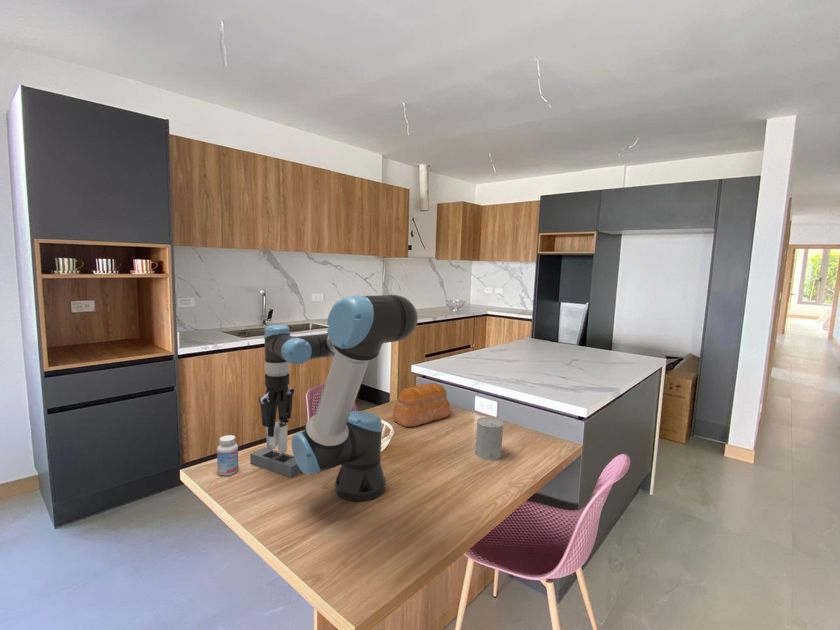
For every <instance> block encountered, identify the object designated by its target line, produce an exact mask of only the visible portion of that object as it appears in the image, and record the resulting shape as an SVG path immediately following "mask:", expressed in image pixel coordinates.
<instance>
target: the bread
mask: <svg viewBox="0 0 840 630" xmlns="http://www.w3.org/2000/svg"><path fill="white" fill-rule="evenodd" d="M447 397H448V393H447V390H446V389H445V387H444V386H442V385H440V384H438V383H435V382H430V383H425V384H424V383H423V384H418V385H413V386H411V387H405V388H403V389H402V390H401V391H400V392H399V393H398V396H397V398H396V399H397V402H396V403H395V405H394V407H393V410H392V411H393V412H392V418H393V421H394V422H395V423H396V422H397V423H396V424H399V425H401V426H403V427H407V428H411V427H412V428H413V427H417V426H420V425H424V424H429V423H430V422H433V421H438V420H442V419H444V418H445V419H446V418H448V417H449V416H450V414H451V408H450V407H451V406H450V402H449V400H448V399H447Z"/></svg>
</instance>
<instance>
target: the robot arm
mask: <svg viewBox="0 0 840 630" xmlns="http://www.w3.org/2000/svg"><path fill="white" fill-rule="evenodd" d="M418 321H419V320H418V312H417V309H416V307H415V306H414V304H413V303H412V301H410V300H409V299H408V298H407V297H404V296H402V295H397V294H387V295H386V294H385V295H384V294H383V295H363V294H362V295H361V294H355V295H351V296H345V297H341V298H339V300H337V301H336V302H334V304H333V306H331V309H330V311H329V314H328V317H327V326H328V328H327V332H326V333H319V334H310V335H307V334H306V335H298V336H297V335H295V336H293V335H291V331H290V330H291V329H290V327H289V326H288V325H284V324H273V325H272V324H271V325H268V326H266V327H265V328H264V337H263V339H264V373H265V374H264V386H265V388H266V390H265V393H264V396H262V397H259V398H258V402H259V404H260V413H261V426H263V427H264V428H266V427H268V436H269V445H272V446H276V447H278V444H277V426H275V422H279V423H283V424H286V425H287V423H289V421H290V420H289V419H291V418H292V410H293V409H292V408H293V396H294V394H295V393H294V392H295V389H294V388H291V387H289V385H290V374H289V373H290V363H291V364H293V365H303V364H305V363H306V362H308V361H310V360H315V359H321V358H330V357H333V358H332V361H331V364H330V368H329V370H328V374H327V377H326V379H325V380H326V381H325V383H324V387H323V389H322V393H321V397H320V400H319V402H318V404H317V408H316V412H315V414H314V415H312V416H310V418H309V419H308V420H307V421H306V425H305V427H304V430H303V431H298V432H295V433H294V434H293V436H292V438H291V449H292V454H293V456H294V458H295V461H296V463H297V465H298V467H299V469H300V470H301V471H302V473H303V474H305V475H308V476H312V475H315V474H320V473H322V472H326V471H327V470H331V469H333V468H336V467H338V466H340V467H339V470H338V474H337V476H336V479H335V481H334V482H335V483H334V484H335V485H334V486H335V487H334V491H335V493H336V494H337V496H339V497H341V498H342V499H345V500H347V501H353V502H364V501H365V502H366V501H370V500H374V499H376V498H378V497H380V496H381V495H383V494H384V492H385V491H386V485H387V484H386V482H387V481H386V480H387V479H386V477H385V474H384V470H383V467H382V464H381V463H382V462H381V455H382V451H381V450H382V433H383V428H382V419H381V417H380V416H379V415H377V414H375V413H372V412H369V411H363V410H353V408H354V405H355V401H356V400H357V397H358V393H359V391H360V389H361V385H362V383H363V380H364V376H365V374H366V370H367V369H368V365H369V362H371V361H374V360H375V359H377V358H378V356H379V355H380V351H381V348H382V346H383V344H387V343H388V344H389V343H393V342H399V341H402V340H405V339H407V338H409V337H410V336H411V335H412V334H413V333H414V331H416V329H417V326H418ZM277 412H278V413H277ZM277 414H278V421H277V420H276V418H277Z"/></svg>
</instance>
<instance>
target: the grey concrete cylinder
mask: <svg viewBox="0 0 840 630" xmlns="http://www.w3.org/2000/svg"><path fill="white" fill-rule="evenodd" d="M503 429H504V421H503V420H501V419H498V418H494V417H490V416H489V417H485V416H484V417H479V418H478V419H477V420H476V433H475V435H476V437H475V451H474V453H475V454H476V455H477V456H478V457H477V456H476V455H475V456H476V457H477V458H479V457H480V458H479V459H481V458H482V459H481V460H484V459H486V460H485V461H497V459H498V460H500V459H501V458H502V450H503V449H502V448H503V434H504V433H503V432H504V430H503Z"/></svg>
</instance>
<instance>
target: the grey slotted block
mask: <svg viewBox="0 0 840 630" xmlns="http://www.w3.org/2000/svg"><path fill="white" fill-rule="evenodd" d="M249 455H250V459H249V460H250V465H253V466H256V467H259V468H262V469H264V470H267V471H271V472H274V473H276V474H279V475H283V476H285V477H289V478H293V477H295V476H298V475H299V474H300V473H301V472H302V471H301V470H300V469H299V467H298V465H297V463H296V461H295V458H294V455H291V454H288V453H286V452H285V453H283V454H279V453H278V450H276V449H272V450H267V446H266V447H265V446H264V447H262V448H260V449H258V450H255V451H254V452H250V454H249ZM302 473H303V472H302Z"/></svg>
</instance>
